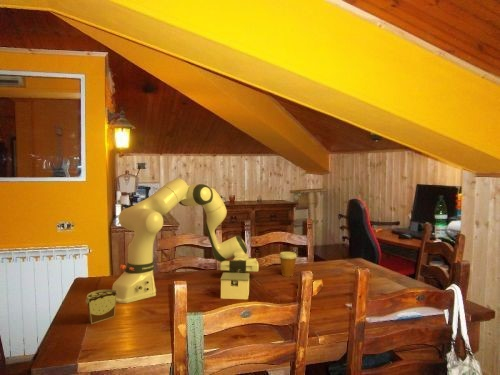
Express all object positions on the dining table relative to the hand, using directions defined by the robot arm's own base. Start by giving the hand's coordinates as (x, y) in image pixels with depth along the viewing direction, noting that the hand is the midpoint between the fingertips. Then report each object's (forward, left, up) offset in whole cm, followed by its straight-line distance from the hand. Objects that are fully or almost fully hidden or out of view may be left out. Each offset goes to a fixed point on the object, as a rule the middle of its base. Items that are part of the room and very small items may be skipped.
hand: (238, 270), depth 196 cm
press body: (-16, -10, -7) cm, 20 cm away
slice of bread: (+14, -34, -7) cm, 38 cm away
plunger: (-12, -7, -5) cm, 15 cm away
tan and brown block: (-68, +17, -7) cm, 71 cm away
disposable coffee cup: (+28, -14, -7) cm, 32 cm away
